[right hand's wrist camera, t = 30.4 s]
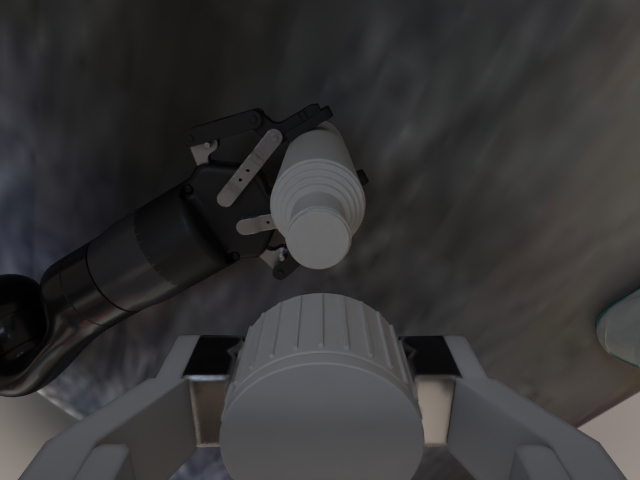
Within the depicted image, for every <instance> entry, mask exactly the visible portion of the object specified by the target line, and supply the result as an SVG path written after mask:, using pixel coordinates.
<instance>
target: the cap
mask: <svg viewBox="0 0 640 480" xmlns="http://www.w3.org/2000/svg"><path fill="white" fill-rule="evenodd" d="M418 401H419V399H418V395H417V392H416V389H415V385H414V383H413V379H412V376H411V373H410V369H409V366H408V363H407V359H406V355H405V352H404V349H403V346H402V342H401V340H398V339H397V336H396V334H395V331H394V327H393V326H392V324H391V325H389V323H388V322H387V321H386V320H385V319H384V318H383V317H382V316H381V313H380V312H378V311H375V310H374V309H372V308H371V307H369V306H368V305H366V304H364V302H362V301H358V300H355V299H352V298H350V297H346V296H343V295H338V294H329V293H314V294H306V295H300V296H297V297H294V298H291V299H288V300H286V301H283V302H280V303H278V305H276V306H274V307H272V308H271V309H270V310H268V311H267V312H265V313H262V314H261V317H260V318H259V319H258V320H257V321H256V323H255V324H254V325H253V326H250V327H249V330H248V334H247V337H246V339H245V342H242V345H241V349H240V351H239V353H238V356H237V360H236V366H235V369H234V373H233V376H232V379H231V383H230V384H229V387H228V391H227V394H226V398H225V401H224V402H225V406H224V410H223V413H222V417H221V421H222V424H221V428H220V437H219V444H220V452H221V455H222V459H223V462H224V465H225V467H226V469H227V471H228V473H229V474H230V476H231V477H232V478H233V480H411V478H412V477H413V475H414V474H415V472H416V471H417V468H418V466H419V464H420V462H421V458H422V455H423V451H424V442H425V439H424V429H423V425H422V420H423V416H422V413H421V410H420V406H419V403H418Z"/></svg>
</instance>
